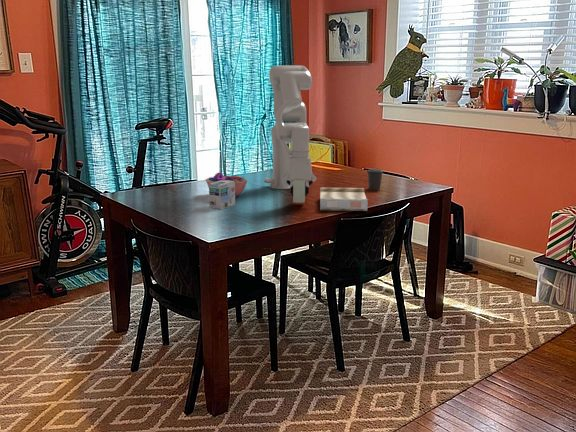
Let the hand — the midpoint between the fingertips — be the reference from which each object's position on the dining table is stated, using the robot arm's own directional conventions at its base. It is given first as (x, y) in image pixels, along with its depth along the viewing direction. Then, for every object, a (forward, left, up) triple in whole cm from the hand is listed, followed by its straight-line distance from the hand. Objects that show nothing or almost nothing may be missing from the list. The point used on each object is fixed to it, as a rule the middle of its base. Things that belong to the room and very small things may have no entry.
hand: (299, 194), depth 254 cm
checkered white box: (+19, +2, -5) cm, 20 cm away
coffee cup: (+36, +35, -5) cm, 51 cm away
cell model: (-35, +15, -5) cm, 38 cm away
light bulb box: (-34, -3, -5) cm, 34 cm away
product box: (0, 0, -3) cm, 3 cm away
